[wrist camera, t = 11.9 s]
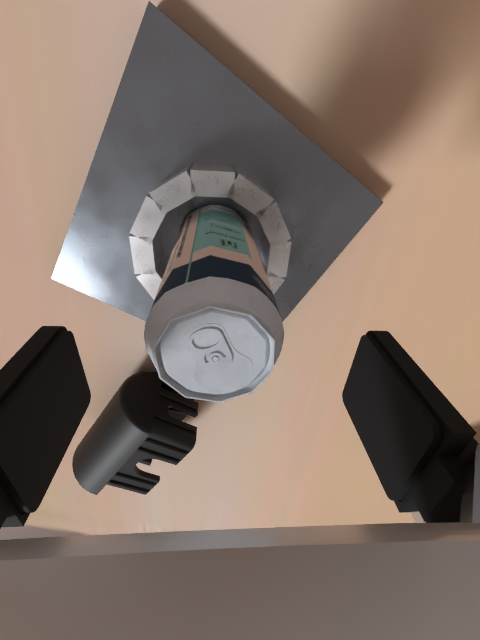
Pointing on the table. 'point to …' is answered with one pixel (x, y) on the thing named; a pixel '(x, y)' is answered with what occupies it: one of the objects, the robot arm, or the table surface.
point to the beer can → (214, 311)
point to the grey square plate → (202, 178)
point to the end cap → (135, 435)
